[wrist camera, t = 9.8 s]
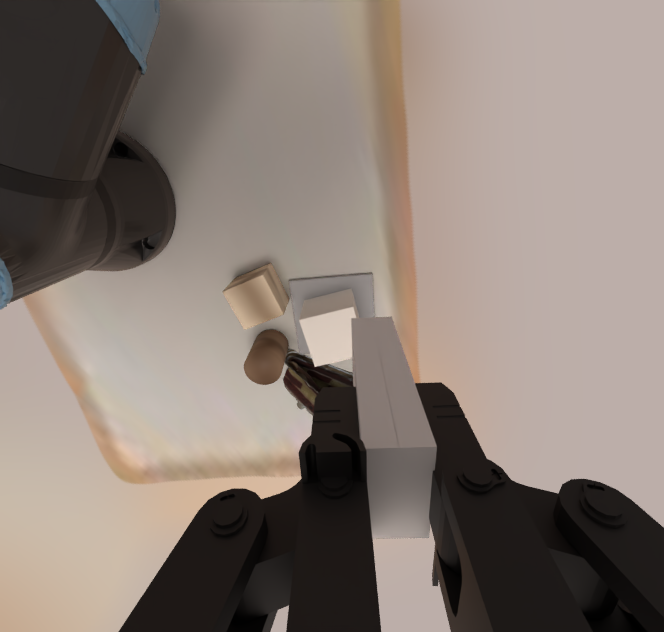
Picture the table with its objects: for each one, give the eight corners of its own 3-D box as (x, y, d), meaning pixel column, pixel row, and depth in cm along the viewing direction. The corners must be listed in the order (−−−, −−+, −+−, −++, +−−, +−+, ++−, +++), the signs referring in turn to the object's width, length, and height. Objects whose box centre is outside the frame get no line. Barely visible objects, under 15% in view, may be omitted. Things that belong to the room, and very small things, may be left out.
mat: (300, 351, 47) (299, 354, 46) (289, 279, 43) (288, 281, 43) (375, 346, 46) (376, 348, 46) (371, 272, 43) (372, 274, 42)
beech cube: (254, 313, 45) (244, 330, 40) (234, 278, 43) (222, 291, 39) (289, 298, 44) (283, 314, 40) (271, 262, 42) (262, 274, 38)
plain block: (317, 342, 46) (314, 366, 40) (304, 300, 44) (298, 320, 38) (363, 331, 45) (366, 355, 40) (351, 288, 43) (353, 306, 37)
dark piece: (264, 383, 50) (307, 459, 44) (278, 351, 45) (328, 432, 40) (317, 366, 56) (360, 431, 50) (334, 337, 52) (384, 405, 46)
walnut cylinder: (258, 360, 48) (248, 386, 42) (252, 331, 46) (240, 353, 40) (290, 357, 47) (284, 383, 42) (285, 328, 46) (278, 350, 40)
